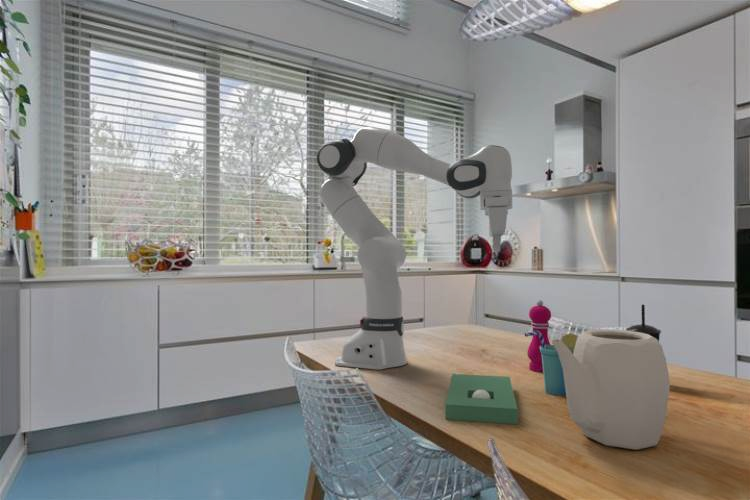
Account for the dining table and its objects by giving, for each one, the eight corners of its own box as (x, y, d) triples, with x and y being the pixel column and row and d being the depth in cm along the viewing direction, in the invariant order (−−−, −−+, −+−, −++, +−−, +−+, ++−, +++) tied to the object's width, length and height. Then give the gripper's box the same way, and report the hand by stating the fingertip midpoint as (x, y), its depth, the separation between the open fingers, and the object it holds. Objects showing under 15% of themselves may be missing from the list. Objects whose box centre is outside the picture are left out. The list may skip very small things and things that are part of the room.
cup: (534, 399, 104) (533, 333, 104) (518, 389, 111) (517, 328, 111) (589, 395, 106) (588, 331, 106) (570, 386, 113) (569, 326, 114)
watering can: (523, 434, 84) (521, 332, 84) (629, 415, 93) (628, 323, 93) (590, 471, 69) (588, 348, 69) (708, 444, 78) (706, 335, 78)
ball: (471, 412, 97) (471, 399, 95) (471, 397, 100) (471, 385, 98) (490, 413, 96) (491, 401, 94) (490, 398, 99) (490, 386, 97)
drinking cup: (664, 382, 116) (663, 304, 116) (658, 388, 110) (656, 307, 111) (631, 377, 121) (630, 302, 122) (623, 383, 116) (622, 304, 116)
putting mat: (445, 419, 92) (445, 404, 92) (452, 385, 115) (452, 373, 115) (517, 424, 88) (517, 408, 88) (509, 388, 112) (509, 376, 112)
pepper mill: (550, 366, 133) (549, 298, 133) (557, 373, 126) (556, 301, 126) (525, 366, 134) (524, 298, 134) (530, 372, 127) (529, 301, 127)
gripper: (484, 207, 139) (484, 252, 139) (485, 199, 119) (486, 251, 119) (505, 206, 138) (506, 251, 138) (510, 198, 118) (510, 251, 118)
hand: (496, 251), depth 128 cm, fingers closed
